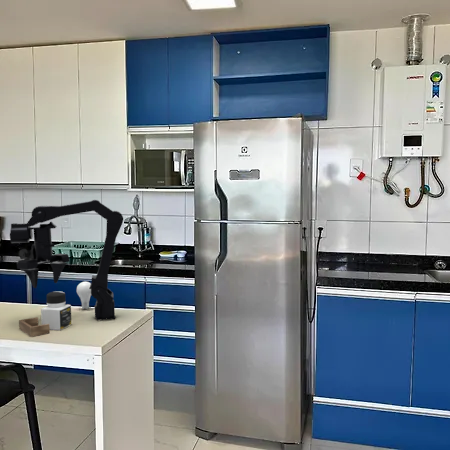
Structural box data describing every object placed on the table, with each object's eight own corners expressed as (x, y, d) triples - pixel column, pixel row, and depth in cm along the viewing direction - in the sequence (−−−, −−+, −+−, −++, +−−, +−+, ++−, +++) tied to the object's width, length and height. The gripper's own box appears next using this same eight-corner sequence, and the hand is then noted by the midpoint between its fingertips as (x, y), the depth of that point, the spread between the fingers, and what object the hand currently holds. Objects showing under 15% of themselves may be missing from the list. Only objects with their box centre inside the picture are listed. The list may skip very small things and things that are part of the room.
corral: (37, 325, 164) (37, 317, 164) (49, 333, 155) (49, 324, 155) (19, 328, 160) (19, 320, 160) (30, 336, 151) (30, 327, 151)
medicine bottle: (60, 330, 158) (59, 295, 157) (41, 329, 159) (40, 294, 159) (71, 324, 165) (70, 290, 164) (53, 323, 166) (52, 289, 166)
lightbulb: (76, 308, 188) (75, 280, 188) (92, 306, 191) (92, 279, 190) (77, 311, 183) (77, 283, 182) (94, 310, 185) (94, 282, 184)
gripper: (47, 238, 179) (49, 279, 180) (4, 244, 162) (7, 289, 164) (69, 238, 174) (71, 281, 175) (27, 244, 157) (30, 291, 159)
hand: (45, 285), depth 168 cm, fingers open, 9 cm apart
